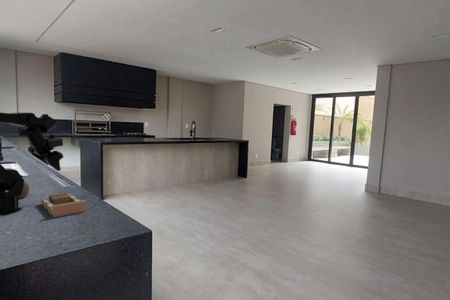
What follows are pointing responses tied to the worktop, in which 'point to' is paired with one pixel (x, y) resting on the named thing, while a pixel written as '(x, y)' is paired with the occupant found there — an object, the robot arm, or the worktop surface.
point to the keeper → (59, 198)
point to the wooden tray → (48, 205)
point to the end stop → (69, 208)
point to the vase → (24, 191)
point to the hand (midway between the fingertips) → (53, 167)
